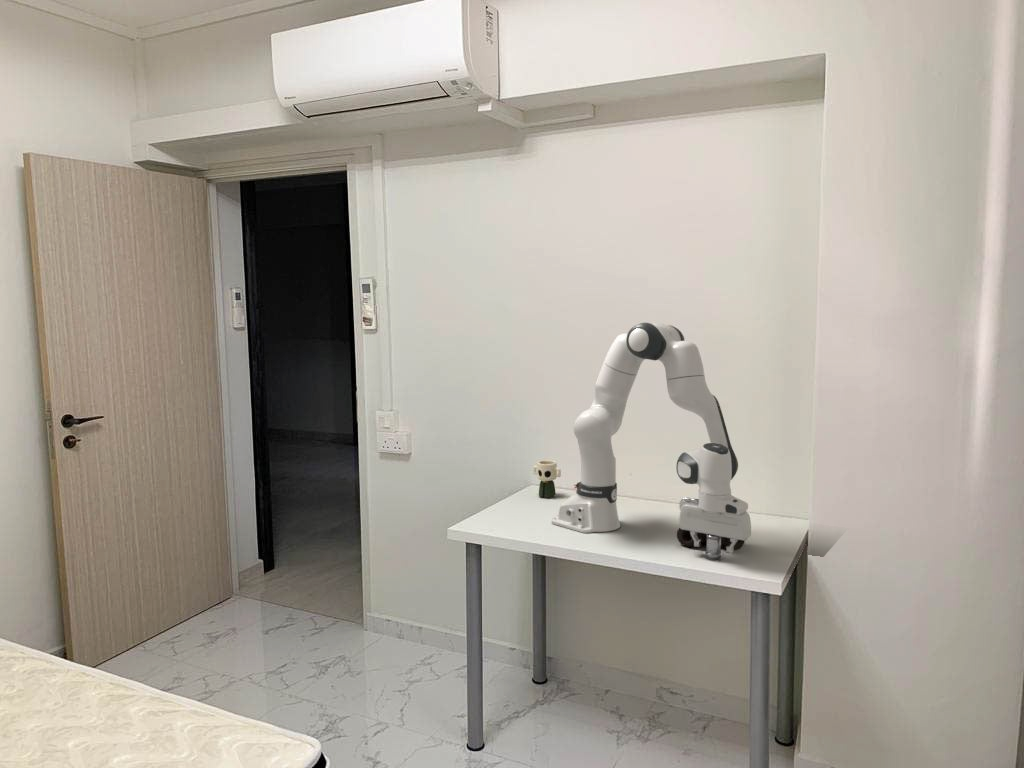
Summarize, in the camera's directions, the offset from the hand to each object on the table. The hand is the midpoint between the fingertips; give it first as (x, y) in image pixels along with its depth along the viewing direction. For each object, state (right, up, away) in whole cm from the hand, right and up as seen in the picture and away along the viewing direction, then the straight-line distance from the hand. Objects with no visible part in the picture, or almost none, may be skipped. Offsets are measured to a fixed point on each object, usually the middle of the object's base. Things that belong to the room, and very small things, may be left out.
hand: (713, 549), depth 219 cm
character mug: (-44, +5, +68) cm, 81 cm away
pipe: (+3, -2, +12) cm, 12 cm away
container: (0, -3, 0) cm, 3 cm away
